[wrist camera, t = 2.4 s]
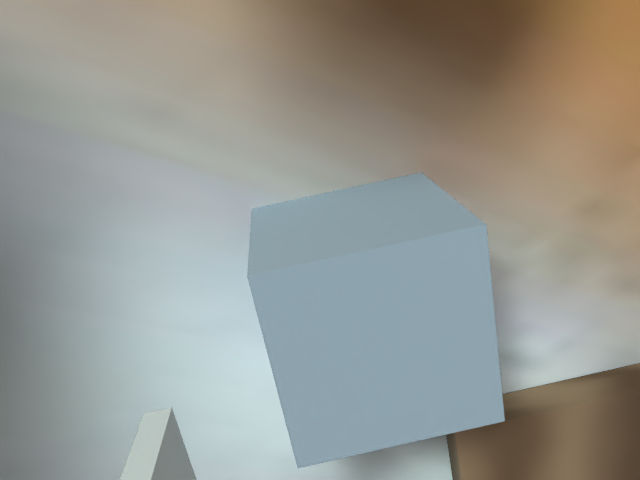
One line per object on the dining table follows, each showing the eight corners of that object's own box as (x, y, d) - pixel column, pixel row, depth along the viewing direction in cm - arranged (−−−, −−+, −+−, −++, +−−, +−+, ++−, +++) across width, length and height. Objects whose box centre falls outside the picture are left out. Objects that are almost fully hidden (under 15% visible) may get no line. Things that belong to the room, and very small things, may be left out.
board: (460, 532, 29) (472, 562, 27) (442, 407, 26) (454, 432, 25) (752, 464, 29) (782, 490, 28) (765, 334, 27) (799, 354, 25)
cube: (288, 355, 25) (297, 468, 18) (252, 208, 22) (247, 276, 16) (441, 321, 25) (504, 421, 18) (421, 171, 22) (486, 224, 16)
